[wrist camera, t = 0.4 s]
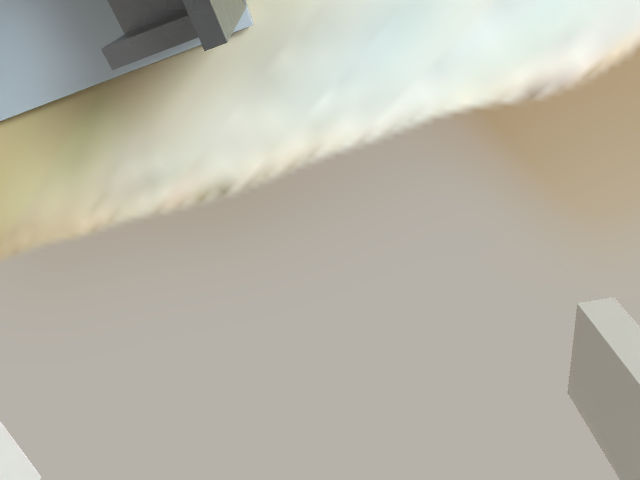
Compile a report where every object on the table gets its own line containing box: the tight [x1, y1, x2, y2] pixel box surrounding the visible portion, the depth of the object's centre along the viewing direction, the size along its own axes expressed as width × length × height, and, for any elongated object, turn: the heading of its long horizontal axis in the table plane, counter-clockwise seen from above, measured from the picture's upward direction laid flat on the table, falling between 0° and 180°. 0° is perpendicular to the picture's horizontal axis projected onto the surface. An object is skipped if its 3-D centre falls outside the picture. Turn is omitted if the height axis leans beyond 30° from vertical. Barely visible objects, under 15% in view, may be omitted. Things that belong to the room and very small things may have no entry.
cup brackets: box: [101, 0, 246, 70], centre depth 25 cm, size 9×21×12 cm, turn 109°
